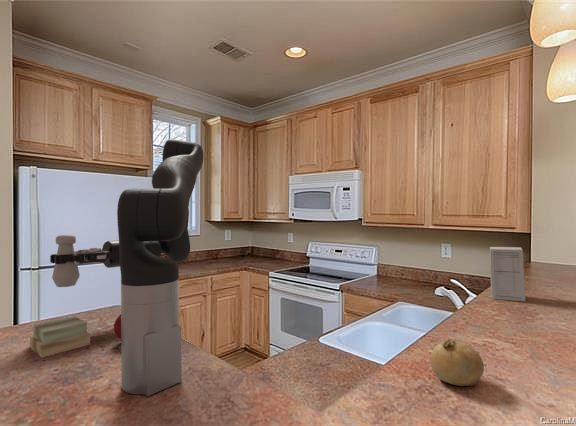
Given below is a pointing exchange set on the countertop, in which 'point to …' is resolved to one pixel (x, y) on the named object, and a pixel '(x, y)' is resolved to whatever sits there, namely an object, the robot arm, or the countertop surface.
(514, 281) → the supplement box
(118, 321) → the onion
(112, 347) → the countertop surface
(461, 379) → the onion
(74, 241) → the salt shaker
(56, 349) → the brick base
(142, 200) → the robot arm
